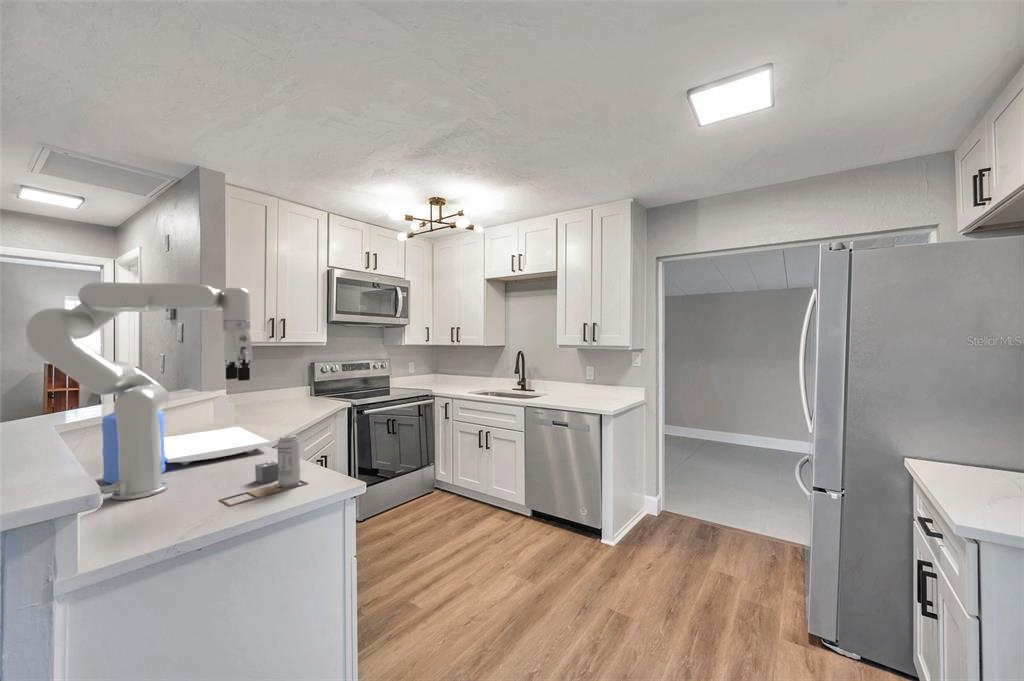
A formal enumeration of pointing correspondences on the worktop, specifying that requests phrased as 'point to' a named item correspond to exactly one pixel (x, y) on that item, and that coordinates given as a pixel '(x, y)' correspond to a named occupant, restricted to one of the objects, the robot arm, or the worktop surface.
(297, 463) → the energy drink can
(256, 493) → the board
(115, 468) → the water jug
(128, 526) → the worktop surface
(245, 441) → the board
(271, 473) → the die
